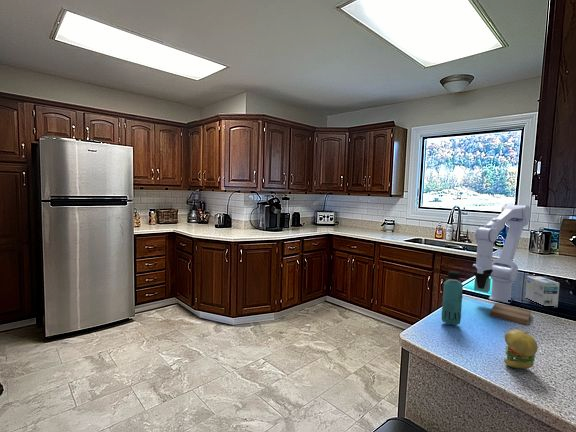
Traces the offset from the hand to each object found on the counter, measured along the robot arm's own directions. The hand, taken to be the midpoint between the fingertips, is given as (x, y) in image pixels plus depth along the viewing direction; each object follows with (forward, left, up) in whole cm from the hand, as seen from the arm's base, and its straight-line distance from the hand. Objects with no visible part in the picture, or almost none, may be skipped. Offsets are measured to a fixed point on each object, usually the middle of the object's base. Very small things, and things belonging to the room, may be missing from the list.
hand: (482, 286), depth 136 cm
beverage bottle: (+31, -4, -8) cm, 32 cm away
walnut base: (+5, +11, -8) cm, 15 cm away
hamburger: (+49, +18, -8) cm, 53 cm away
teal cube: (0, 0, -1) cm, 1 cm away
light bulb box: (-23, +19, -8) cm, 31 cm away
